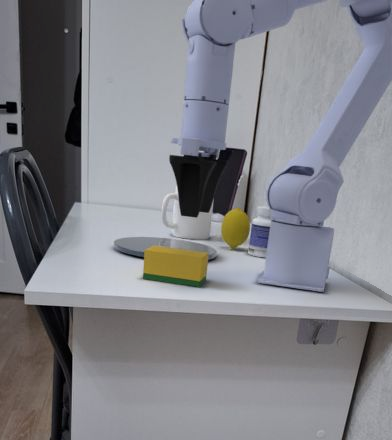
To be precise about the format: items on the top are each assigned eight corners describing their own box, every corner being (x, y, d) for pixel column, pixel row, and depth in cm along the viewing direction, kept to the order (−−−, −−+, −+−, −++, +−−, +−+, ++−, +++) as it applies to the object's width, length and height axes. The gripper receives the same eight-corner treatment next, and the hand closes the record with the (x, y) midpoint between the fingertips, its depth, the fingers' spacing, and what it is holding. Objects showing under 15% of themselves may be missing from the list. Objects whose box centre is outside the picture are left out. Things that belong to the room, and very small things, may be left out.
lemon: (236, 246, 111) (241, 206, 108) (252, 251, 106) (258, 210, 104) (213, 246, 108) (218, 205, 105) (229, 251, 103) (234, 208, 101)
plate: (223, 252, 103) (224, 245, 102) (204, 268, 86) (205, 260, 85) (132, 239, 106) (133, 233, 105) (97, 253, 89) (97, 245, 88)
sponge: (205, 280, 77) (209, 252, 76) (199, 287, 73) (202, 257, 72) (152, 272, 79) (154, 245, 77) (142, 278, 75) (144, 249, 73)
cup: (217, 239, 117) (222, 190, 113) (170, 240, 110) (174, 188, 106) (194, 233, 123) (199, 186, 120) (149, 233, 116) (152, 183, 113)
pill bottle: (274, 259, 100) (281, 210, 97) (246, 255, 101) (252, 206, 98) (276, 255, 105) (283, 208, 102) (249, 251, 106) (255, 204, 103)
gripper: (188, 106, 75) (179, 206, 80) (159, 93, 62) (151, 214, 67) (238, 111, 74) (226, 212, 79) (220, 98, 61) (207, 221, 65)
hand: (195, 214), depth 73 cm, fingers open, 7 cm apart
